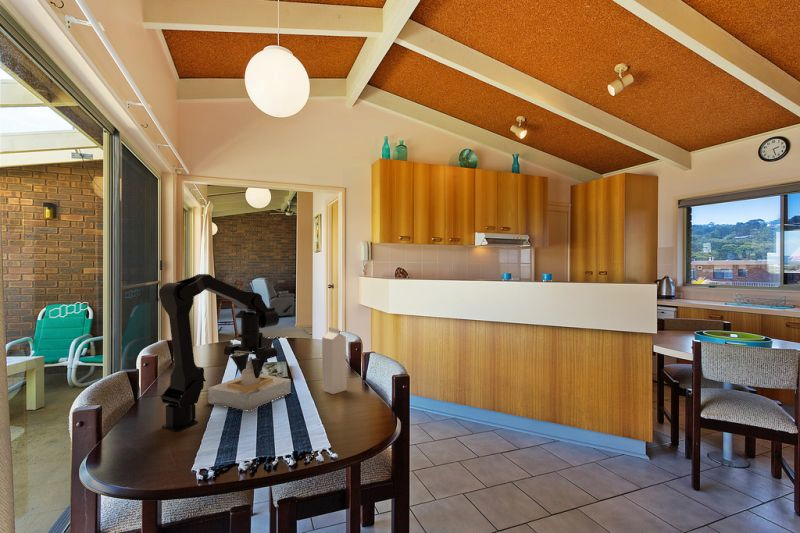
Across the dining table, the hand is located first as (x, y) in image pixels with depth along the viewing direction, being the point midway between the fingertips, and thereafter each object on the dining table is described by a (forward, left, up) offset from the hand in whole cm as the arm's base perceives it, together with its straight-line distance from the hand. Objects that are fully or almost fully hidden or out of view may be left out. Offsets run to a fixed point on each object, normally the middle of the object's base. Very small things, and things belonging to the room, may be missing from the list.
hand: (250, 377), depth 125 cm
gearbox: (+3, 0, -7) cm, 8 cm away
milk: (+18, -21, -7) cm, 29 cm away
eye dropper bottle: (0, 0, -6) cm, 6 cm away
